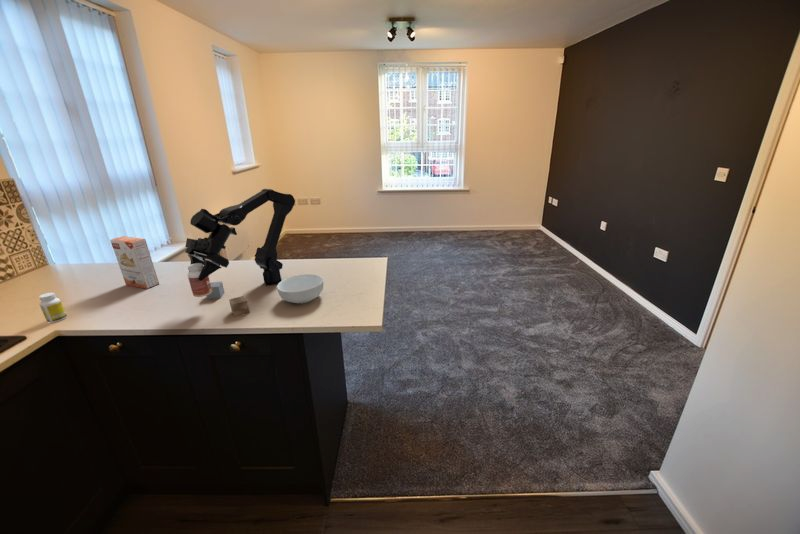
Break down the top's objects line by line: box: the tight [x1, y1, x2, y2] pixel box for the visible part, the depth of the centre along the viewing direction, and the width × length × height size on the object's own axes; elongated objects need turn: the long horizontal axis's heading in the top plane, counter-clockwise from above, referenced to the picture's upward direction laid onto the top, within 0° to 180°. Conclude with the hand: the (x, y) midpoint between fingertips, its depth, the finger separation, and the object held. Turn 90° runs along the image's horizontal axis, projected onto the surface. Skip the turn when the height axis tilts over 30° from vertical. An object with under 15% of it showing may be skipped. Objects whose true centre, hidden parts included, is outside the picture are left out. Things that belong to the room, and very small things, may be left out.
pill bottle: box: [187, 263, 212, 298], centre depth 125 cm, size 6×6×11 cm
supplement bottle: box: [38, 292, 68, 323], centre depth 125 cm, size 5×5×10 cm
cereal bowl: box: [276, 273, 324, 304], centre depth 135 cm, size 17×17×7 cm
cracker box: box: [109, 235, 160, 290], centre depth 150 cm, size 14×6×21 cm, turn 68°
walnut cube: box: [228, 295, 250, 318], centre depth 126 cm, size 5×5×5 cm
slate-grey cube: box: [206, 281, 225, 300], centre depth 140 cm, size 5×5×5 cm
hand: (194, 278), depth 124 cm, fingers closed on pill bottle, 6 cm apart
